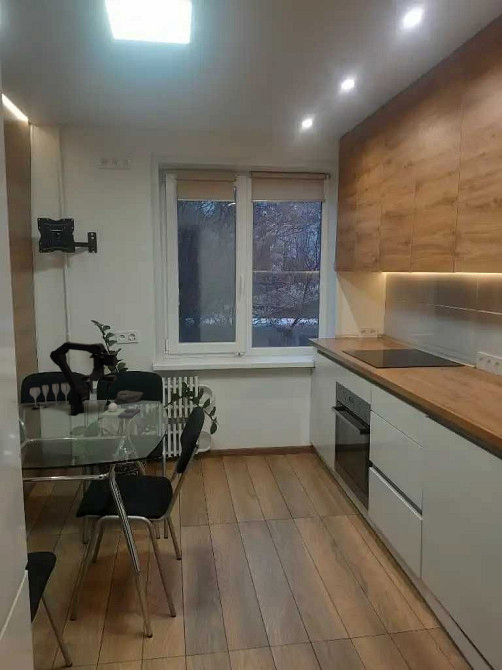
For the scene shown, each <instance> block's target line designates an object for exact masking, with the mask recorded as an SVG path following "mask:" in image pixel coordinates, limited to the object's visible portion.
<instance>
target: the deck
mask: <svg viewBox="0 0 502 670" xmlns="http://www.w3.org/2000/svg"><path fill="white" fill-rule="evenodd" d="M139 412H140V413H141V408H117V410H116V411H114V412H111V411H110V410H109V408H107V410H105V411H104V412H102V413H101V414H100V415H99V417H100V418H103V419H104V418H106V419H109V418H111V419H133V418H135V416H138V414H139Z"/></svg>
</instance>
